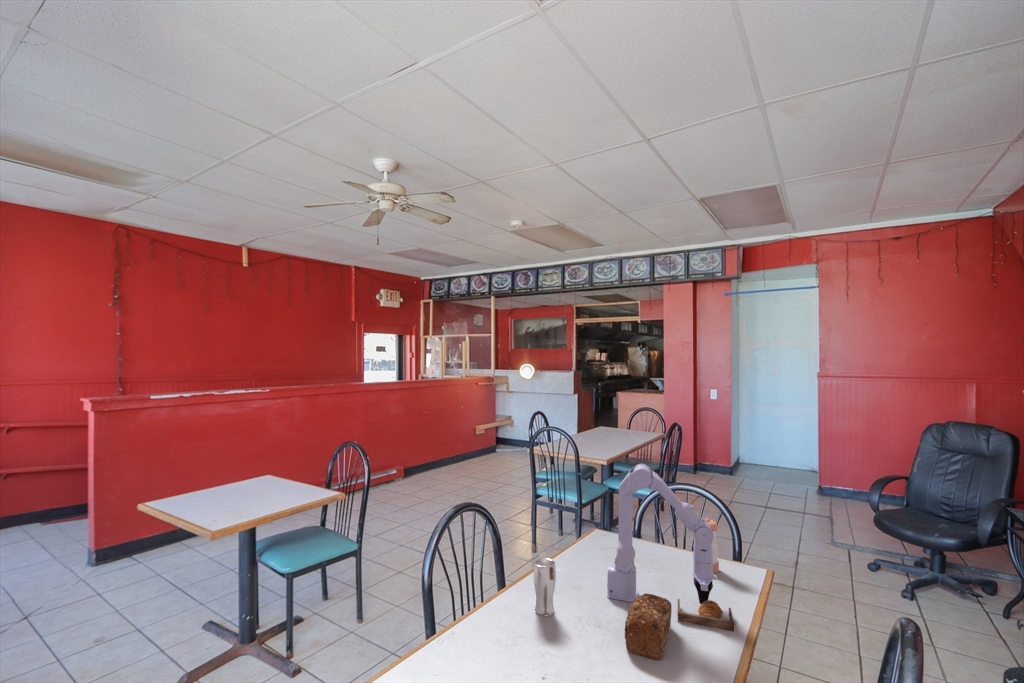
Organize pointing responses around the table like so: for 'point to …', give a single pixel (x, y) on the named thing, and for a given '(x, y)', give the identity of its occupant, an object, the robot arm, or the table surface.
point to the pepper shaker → (714, 545)
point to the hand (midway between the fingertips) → (703, 603)
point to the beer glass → (544, 585)
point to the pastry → (710, 609)
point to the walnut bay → (706, 620)
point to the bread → (648, 626)
